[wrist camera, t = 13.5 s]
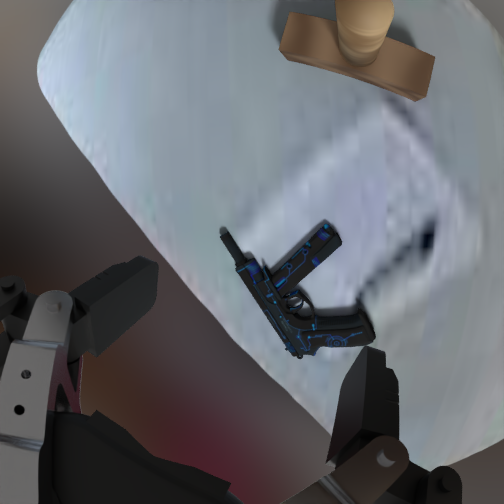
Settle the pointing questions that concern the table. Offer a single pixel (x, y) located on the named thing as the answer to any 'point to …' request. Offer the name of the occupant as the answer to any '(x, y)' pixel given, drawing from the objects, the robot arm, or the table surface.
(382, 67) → the walnut rail
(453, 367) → the table surface
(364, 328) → the gun
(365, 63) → the oak post
